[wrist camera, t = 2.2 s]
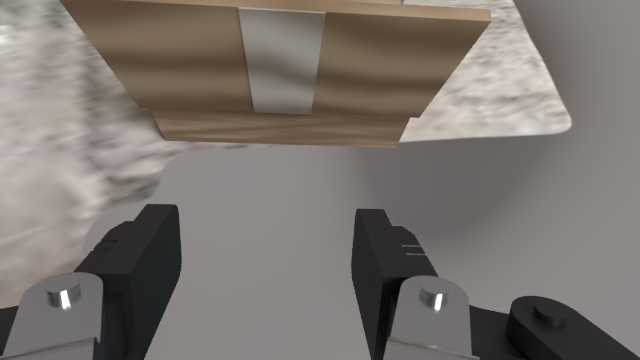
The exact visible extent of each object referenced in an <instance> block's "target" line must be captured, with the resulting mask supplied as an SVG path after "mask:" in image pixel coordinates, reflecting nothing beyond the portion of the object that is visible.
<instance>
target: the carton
mask: <svg viewBox="0 0 640 360" xmlns="http://www.w3.org/2000/svg"><path fill="white" fill-rule="evenodd" d="M332 1H349V2H367V3H384V4H401V0H332ZM149 108H150V110H151V112H152V114H153V116H154V118H155V120H156V122H157V125H158V127H159V129H160V131H161V133H162V135H163V137H164V139H165V140H169V141H199V142H230V143H261V144H291V145H322V146H353V147H384V148H396V146H397V144H398V142H399V140H400V138H401V136H402V134H403V132H404V130H405V128H406V125H407V123H408V121H409V119H410V117H390V116H364V115H338V114H312V113H311V114H284V113H258V112H254V111H233V110H207V109H180V108H154V107H149Z"/></svg>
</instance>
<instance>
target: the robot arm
mask: <svg viewBox="0 0 640 360" xmlns="http://www.w3.org/2000/svg"><path fill="white" fill-rule="evenodd" d="M181 261H182V257H181V240H180V225H179V212H178V208H177V206H176V205H171V204H147V205H146V206H145V207H144V209H143V210H142V211H141V212H140V213H139V215H138V216H137V217H136V219H135V220H134V221H125V222H123V223H122V224H120V225H118V226H116V227H114V228H112V229H111V230H109V232H108V233H107V234H106V235H105V236H104V237H103V239H102V240H101V242H99V243H98V244H97V245H96V246H95V248H94V250H93V251H91V252H90V253H89V254H88V256H87V257H86V258H85V259H84V260H83V261H82V263H81V264H80V265H79V266H78V267H77V268H76V269H75V271H74V272H73V273H66V274H60V275H57V276H53V277H50V278H47V279H45V280H43V281H41V282H39V283H37V284H35V285H34V286H32V287H31V288H29V289H28V290H27V291H26V292H25V294H24V295H23V297H22V299H21V302H20V305H19V306H14V307H9V308H3V309H0V360H144V358H145V355H146V353H147V351H148V348H149V346H150V344H151V342H152V339H153V337H154V335H155V332H156V330H157V328H158V326H159V323H160V321H161V318H162V316H163V314H164V311H165V309H166V307H167V305H168V303H169V300H170V298H171V295H172V293H173V291H174V289H175V287H176V284H177V282H178V279H179V276H180V271H181ZM351 268H352V269H351V270H352V281H353V285H354V289H355V294H356V298H357V302H358V306H359V310H360V315H361V318H362V323H363V327H364V331H365V335H366V340H367V344H368V348H369V352H370V356H371V360H640V358H639V357H638V356H637V355H635V354H634V353H632V352H631V351H630V350H628V349H627V348H626V347H624V346H623V345H622V344H620V343H619V342H617V341H616V340H615V339H613V338H612V337H611V336H609V335H608V334H607V333H605V332H604V331H602V330H601V329H600V328H598V327H597V326H596V325H594V324H593V323H592V322H590V321H589V320H587V319H586V318H585V317H583V316H582V315H581V314H579V313H578V312H577V311H575V310H574V309H572V308H570V307H569V306H567V305H565V304H563V303H560V302H558V301H555V300H552V299H548V298H544V297H539V296H523V297H519V298H517V299H516V300H514V301H513V302H512V304H511V309H510V313H509V314H505V313H500V312H495V311H490V310H486V309H481V308H477V307H474V306H471V305H469V299H468V296H467V294H466V293H465V292H464V290H463V289H462V288H460V287H459V286H458V285H456V284H455V283H453V282H451V281H448V280H446V279H443V278H439V276H438V275H437V273H436V271H435V270H434V268H433V266H432V265H431V263H430V261H429V259H428V257H427V256H425V252H424V251H423V249H422V247H420V244H419V242H418V240H417V239H416V237H415V235H414V234H412V233H411V232H409V231H408V230H407V229H405V228H404V227H401V226H392V225H391V223H390V221H389V219H388V217H387V215H386V213H385V211H384V210H383V209H357V211H356V215H355V225H354V238H353V248H352V262H351Z"/></svg>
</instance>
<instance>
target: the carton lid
mask: <svg viewBox="0 0 640 360" xmlns="http://www.w3.org/2000/svg"><path fill="white" fill-rule="evenodd" d="M60 2H61V3H62V4H63V6H64V7H65V8H66V10H67V11H68V12H69V14H70V15H71V16H72V18H73V19H74V20H75V22H76V23H77V24H78V26H79V27H80V28H81V30H82V31H83V32H84V34H85V35H86V36H87V38H88V39H89V40H90V42H91V43H92V44H93V46H94V47H95V48H96V50H97V51H98V52H99V54H100V55H101V56H102V58H103V59H104V60H105V62H106V63H107V64H108V66H109V67H110V68H111V70H112V71H113V72H114V74H115V75H116V76H117V78H118V79H119V80H120V82H121V83H122V84H123V86H124V87H125V88H126V90H127V91H128V92H129V94H130V95H131V96H132V98H133V99H134V100H135V102H136V103H137V104H138V106H139V107H154V108H180V109H207V110H233V111H254V112H258V113H284V114H311V113H312V114H338V115H364V116H390V117H416V118H419V117H420V116H421V114H422V113H423V112H424V110H425V109H426V108H427V106H428V105H429V104H430V102H431V101H432V100H433V98H434V97H435V96H436V94H437V93H438V92H439V90H440V89H441V88H442V86H443V85H444V84H445V82H446V81H447V80H448V78H449V77H450V76H451V74H452V73H453V72H454V70H455V69H456V68H457V66H458V65H459V64H460V62H461V61H462V60H463V58H464V57H465V56H466V54H467V53H468V52H469V50H470V49H471V48H472V46H473V45H474V44H475V42H476V41H477V40H478V38H479V37H480V36H481V34H482V33H483V32H484V30H485V29H486V28H487V26H488V25H489V24H490V22H491V14H490V10H487V9H470V8H453V7H435V6H418V5H401V4H384V3H367V2H349V1H332V0H60Z"/></svg>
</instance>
